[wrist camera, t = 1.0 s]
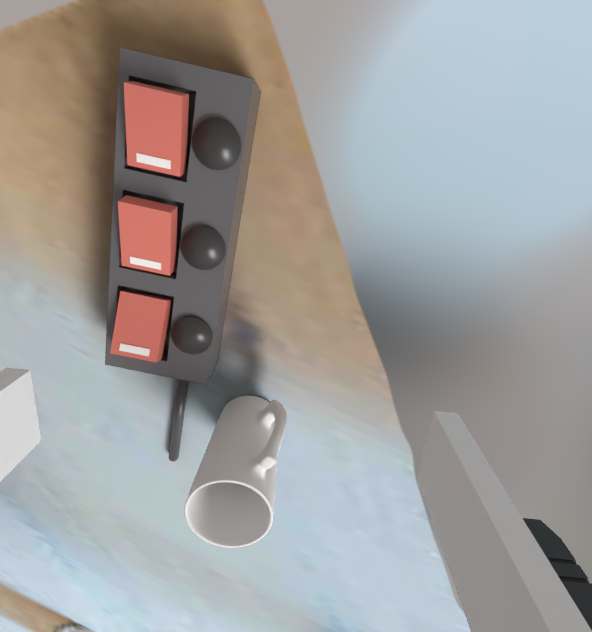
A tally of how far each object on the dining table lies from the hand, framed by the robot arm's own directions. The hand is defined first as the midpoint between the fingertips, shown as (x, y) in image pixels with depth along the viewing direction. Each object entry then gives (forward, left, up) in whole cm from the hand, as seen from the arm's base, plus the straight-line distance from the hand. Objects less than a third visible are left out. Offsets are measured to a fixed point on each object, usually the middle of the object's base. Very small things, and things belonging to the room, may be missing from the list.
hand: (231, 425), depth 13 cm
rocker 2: (-10, +1, -19) cm, 21 cm away
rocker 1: (-10, +9, -19) cm, 23 cm away
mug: (+1, -15, -24) cm, 28 cm away
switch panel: (-9, -5, -24) cm, 26 cm away
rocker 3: (-10, -6, -19) cm, 22 cm away
